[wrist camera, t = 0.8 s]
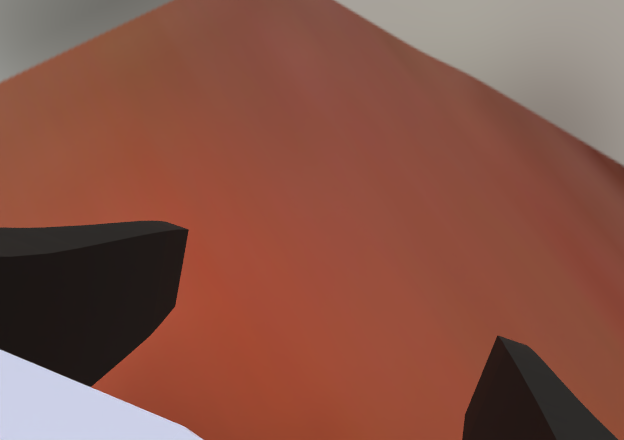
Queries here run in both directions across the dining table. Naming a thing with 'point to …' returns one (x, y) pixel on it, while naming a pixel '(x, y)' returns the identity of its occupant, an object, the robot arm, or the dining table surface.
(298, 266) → the dining table surface
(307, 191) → the dining table surface
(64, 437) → the robot arm
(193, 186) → the dining table surface
